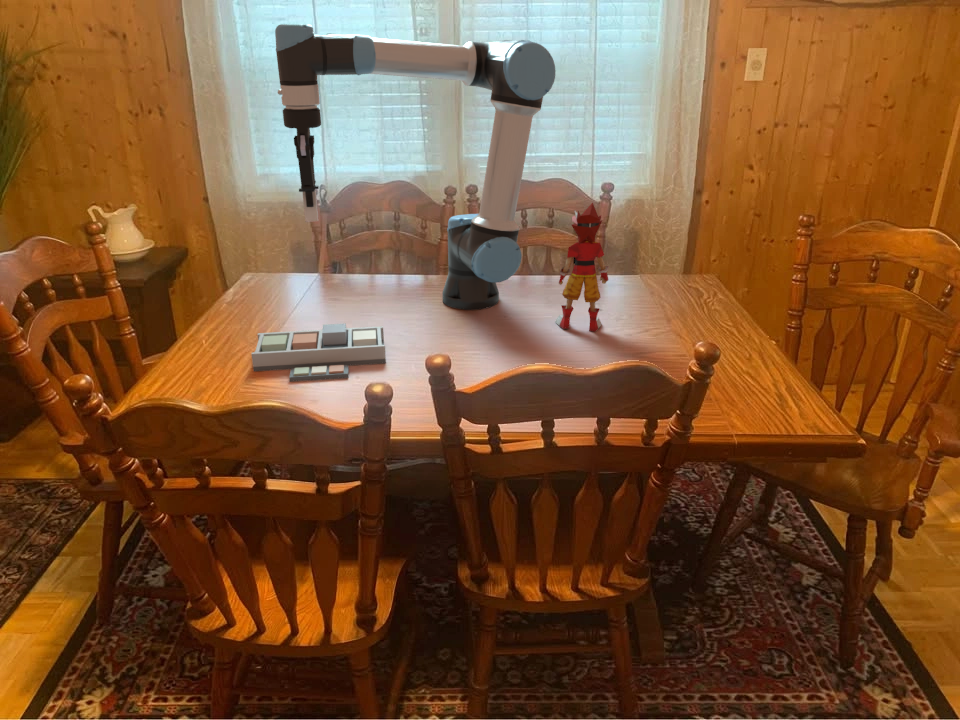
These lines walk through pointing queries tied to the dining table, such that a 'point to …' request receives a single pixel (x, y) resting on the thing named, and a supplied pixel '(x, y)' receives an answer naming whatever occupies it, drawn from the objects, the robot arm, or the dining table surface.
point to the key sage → (274, 343)
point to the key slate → (334, 334)
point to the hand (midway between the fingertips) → (311, 220)
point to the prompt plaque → (319, 373)
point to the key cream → (364, 338)
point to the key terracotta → (305, 341)
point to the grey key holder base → (319, 352)
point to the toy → (583, 268)
